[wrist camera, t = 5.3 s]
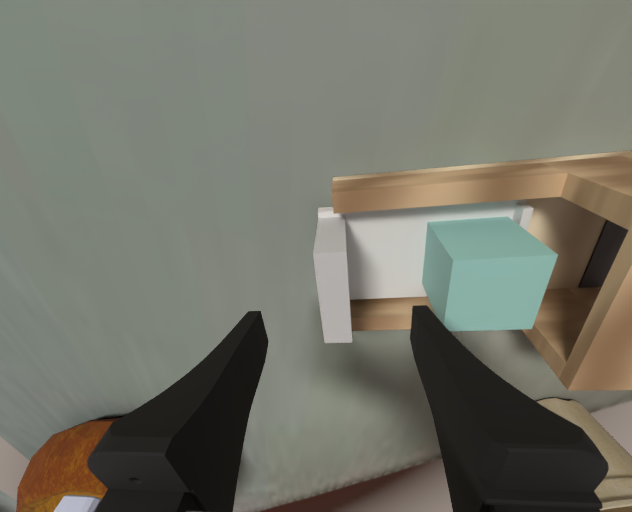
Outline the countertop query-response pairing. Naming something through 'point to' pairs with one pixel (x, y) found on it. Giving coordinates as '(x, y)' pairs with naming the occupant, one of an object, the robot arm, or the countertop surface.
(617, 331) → the wooden frame
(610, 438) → the flower pot
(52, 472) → the bread
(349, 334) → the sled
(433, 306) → the block
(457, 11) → the countertop surface
